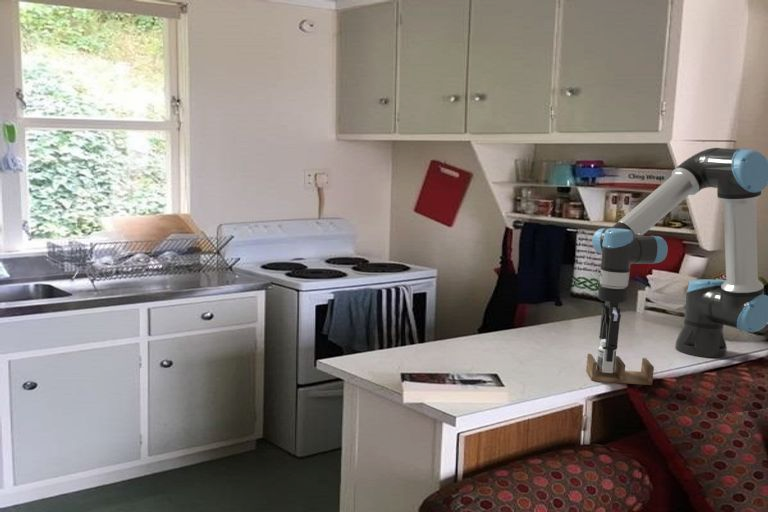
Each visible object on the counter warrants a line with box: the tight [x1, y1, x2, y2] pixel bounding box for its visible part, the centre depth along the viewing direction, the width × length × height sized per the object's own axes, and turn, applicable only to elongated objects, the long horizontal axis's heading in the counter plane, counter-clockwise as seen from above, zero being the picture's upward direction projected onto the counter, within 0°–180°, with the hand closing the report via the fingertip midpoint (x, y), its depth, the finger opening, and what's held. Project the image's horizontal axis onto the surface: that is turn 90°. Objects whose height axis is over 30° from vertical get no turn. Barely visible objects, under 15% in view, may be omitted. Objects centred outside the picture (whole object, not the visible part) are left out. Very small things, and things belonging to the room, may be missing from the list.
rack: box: [585, 353, 655, 386], centre depth 222 cm, size 16×9×5 cm, turn 85°
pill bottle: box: [596, 339, 617, 372], centre depth 221 cm, size 5×5×8 cm
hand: (605, 369), depth 222 cm, fingers closed on pill bottle, 5 cm apart
